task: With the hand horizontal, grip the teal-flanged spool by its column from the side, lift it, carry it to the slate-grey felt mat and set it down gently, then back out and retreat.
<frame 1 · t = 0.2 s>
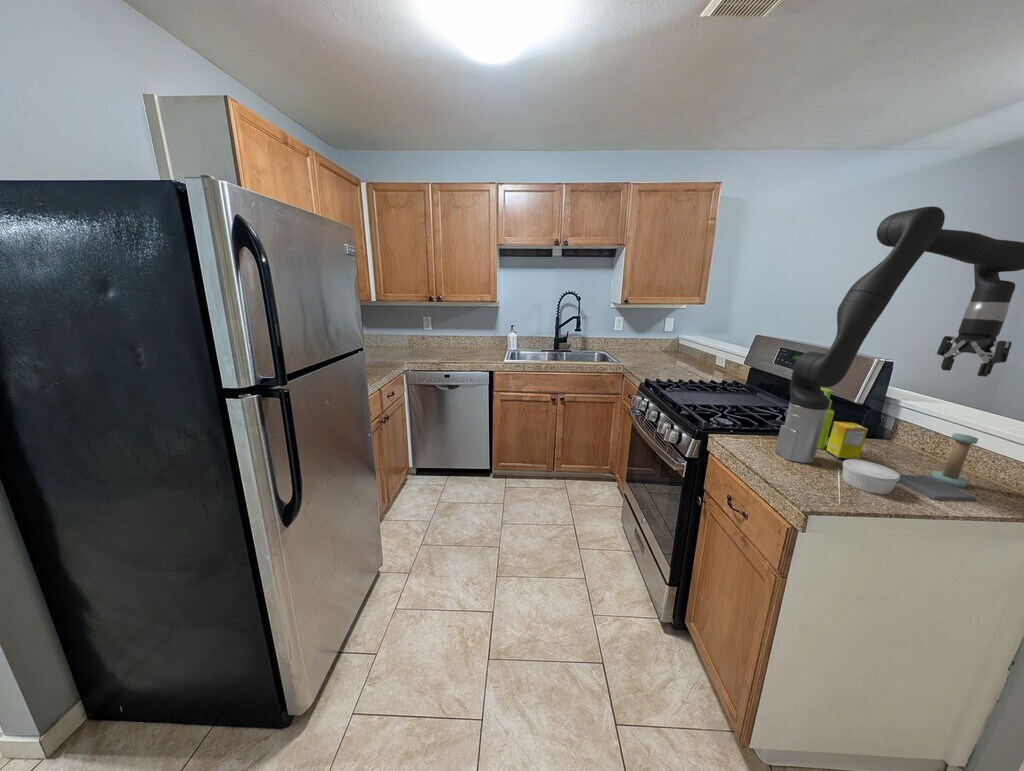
hand: (963, 373, 108), 29 cm above the countertop, tool pointing down, fingers open, 8 cm apart
teal-flanged spool: (948, 481, 102), on the countertop
mat: (930, 488, 97), on the countertop
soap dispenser: (812, 445, 124), on the countertop
supplement box: (841, 457, 116), on the countertop
ramekin: (865, 486, 98), on the countertop
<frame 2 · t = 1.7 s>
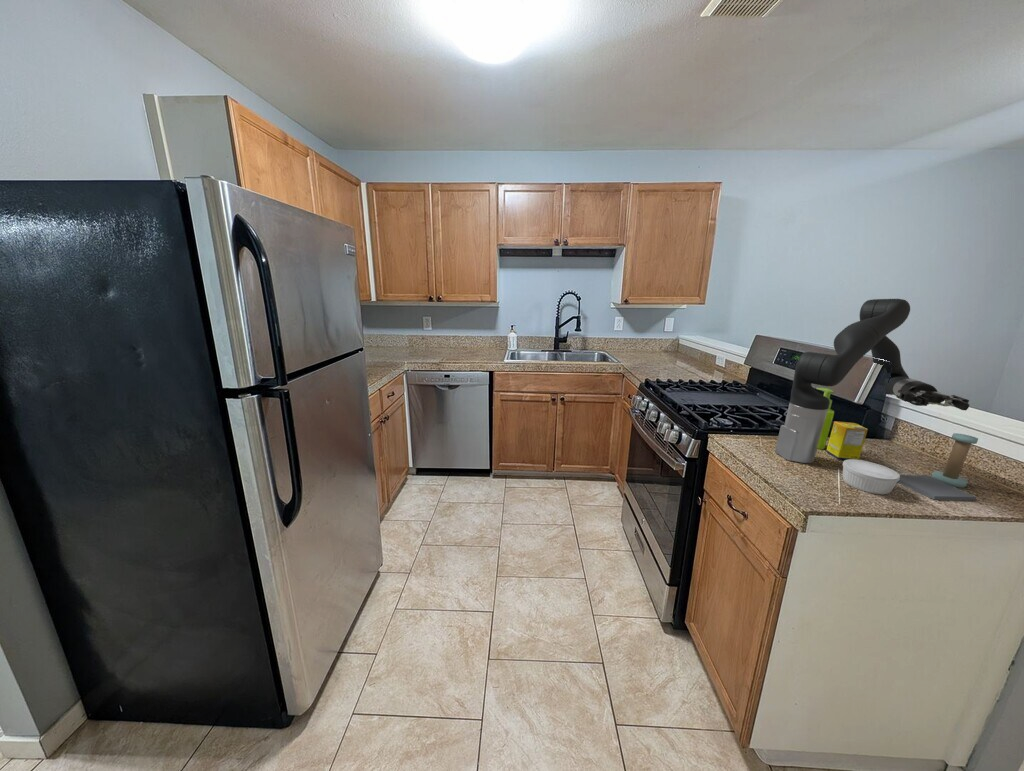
hand: (946, 404, 106), 20 cm above the countertop, tool horizontal, fingers open, 8 cm apart
nothing on the countertop moved.
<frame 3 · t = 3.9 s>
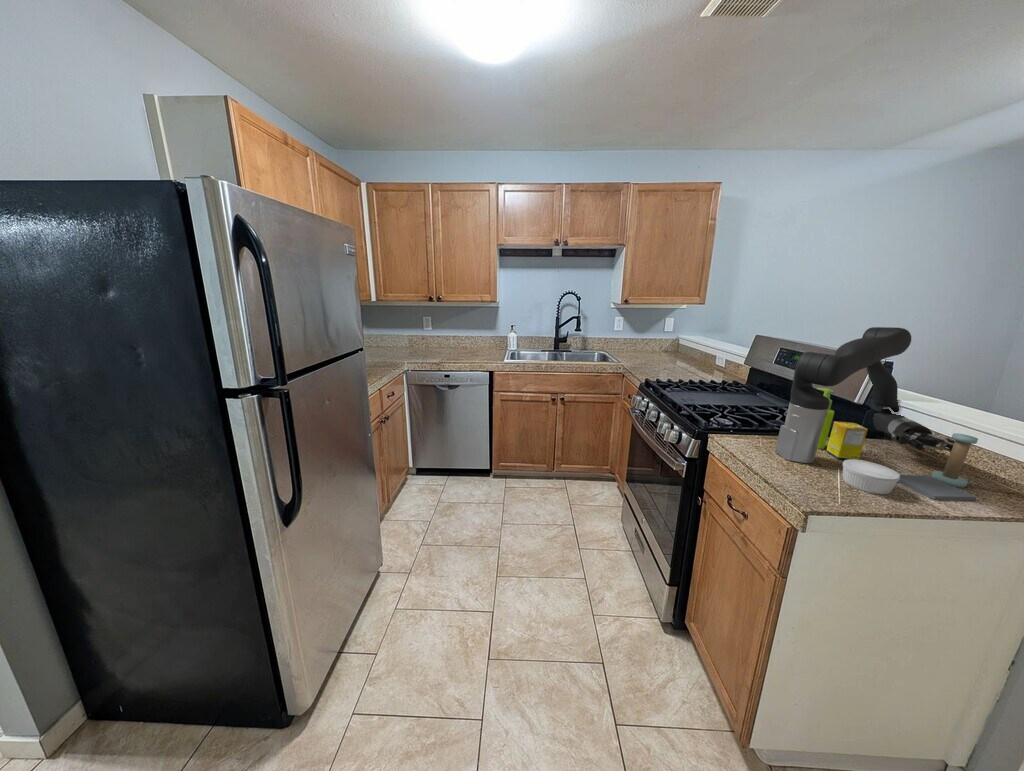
hand: (940, 450, 106), 7 cm above the countertop, tool horizontal, fingers open, 8 cm apart
nothing on the countertop moved.
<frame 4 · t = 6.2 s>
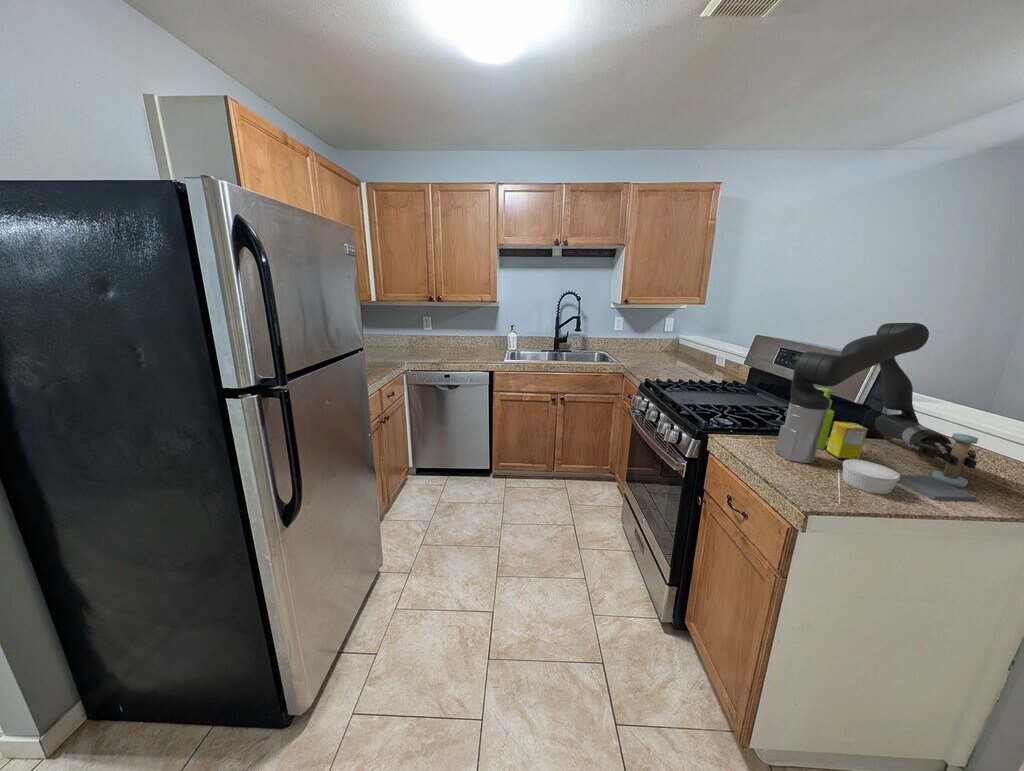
hand: (964, 463, 97), 7 cm above the countertop, tool horizontal, fingers closed on teal-flanged spool, 3 cm apart
teal-flanged spool: (948, 481, 101), on the countertop, touching gripper
everything else where it was.
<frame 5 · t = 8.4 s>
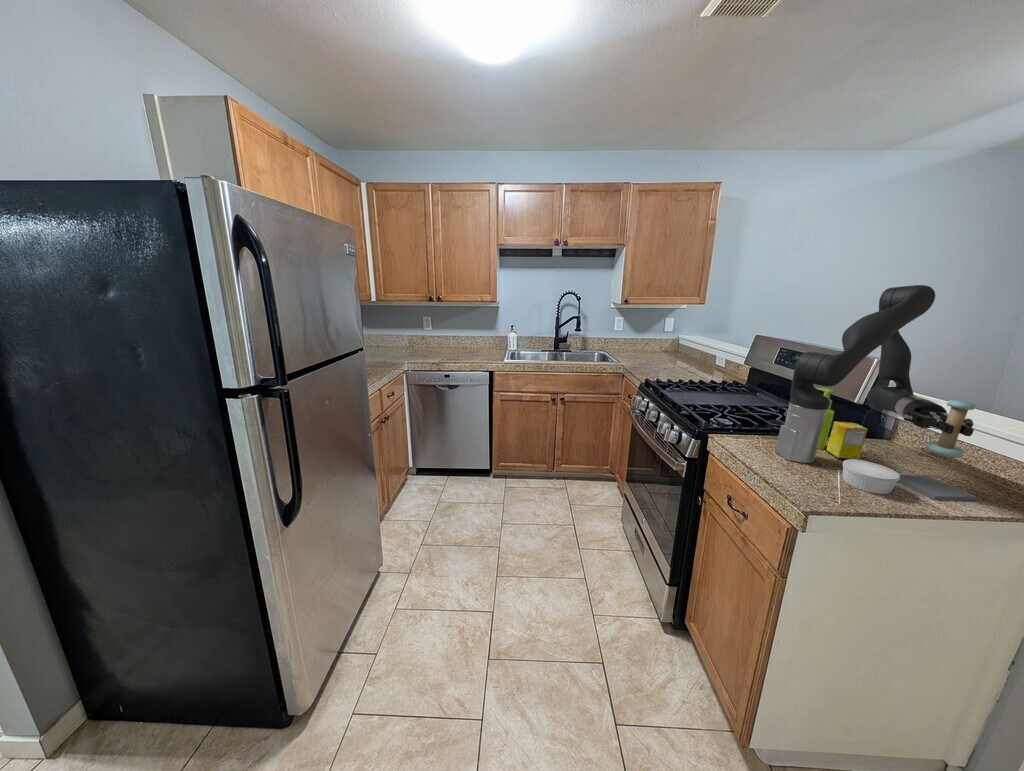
hand: (960, 431, 90), 18 cm above the countertop, tool horizontal, fingers closed on teal-flanged spool, 3 cm apart
teal-flanged spool: (943, 452, 95), point 11 cm above the countertop, touching gripper
everything else where it was.
when the fingers open (9 cm above the countertop, at t = 10.7 s): teal-flanged spool stays where it is, resting on mat.
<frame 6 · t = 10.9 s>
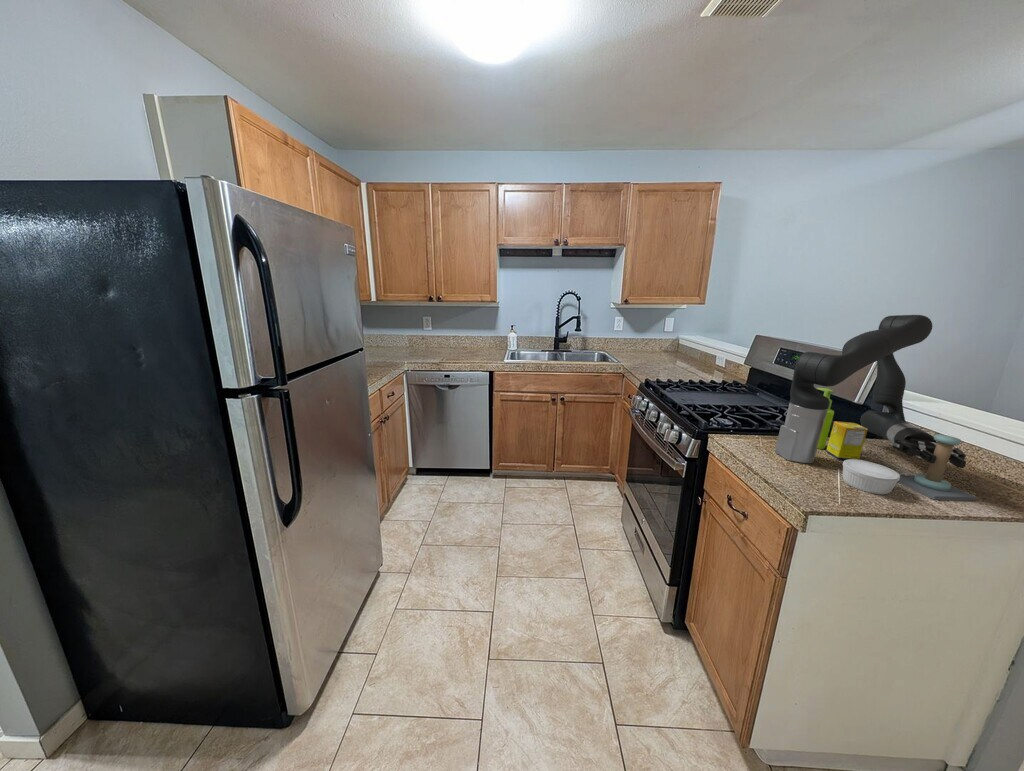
hand: (947, 462, 93), 9 cm above the countertop, tool horizontal, fingers open, 4 cm apart
teal-flanged spool: (930, 485, 97), point 1 cm above the countertop, touching mat
everything else where it was.
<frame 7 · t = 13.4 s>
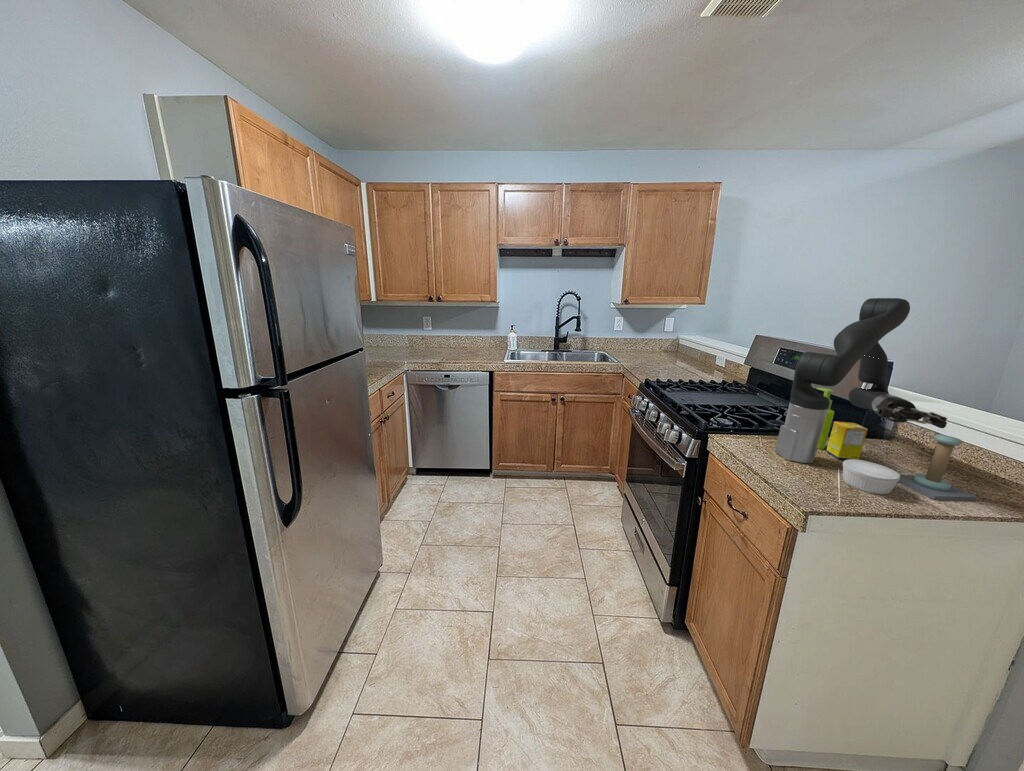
hand: (923, 422, 103), 16 cm above the countertop, tool horizontal, fingers open, 8 cm apart
nothing on the countertop moved.
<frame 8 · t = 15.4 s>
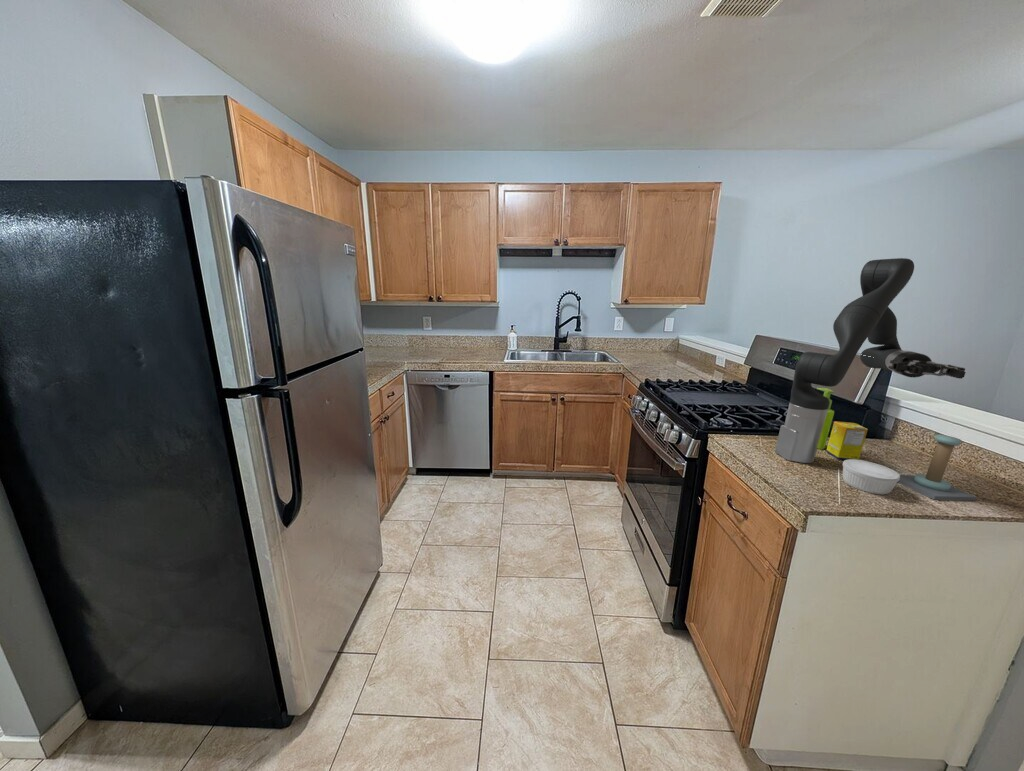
hand: (940, 373, 100), 30 cm above the countertop, tool horizontal, fingers open, 8 cm apart
nothing on the countertop moved.
at the end: teal-flanged spool inside the target area on the mat (0.1 cm from its centre), point 1.0 cm above the mat's base; teal-flanged spool tilted 0°; the gripper is holding nothing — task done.
